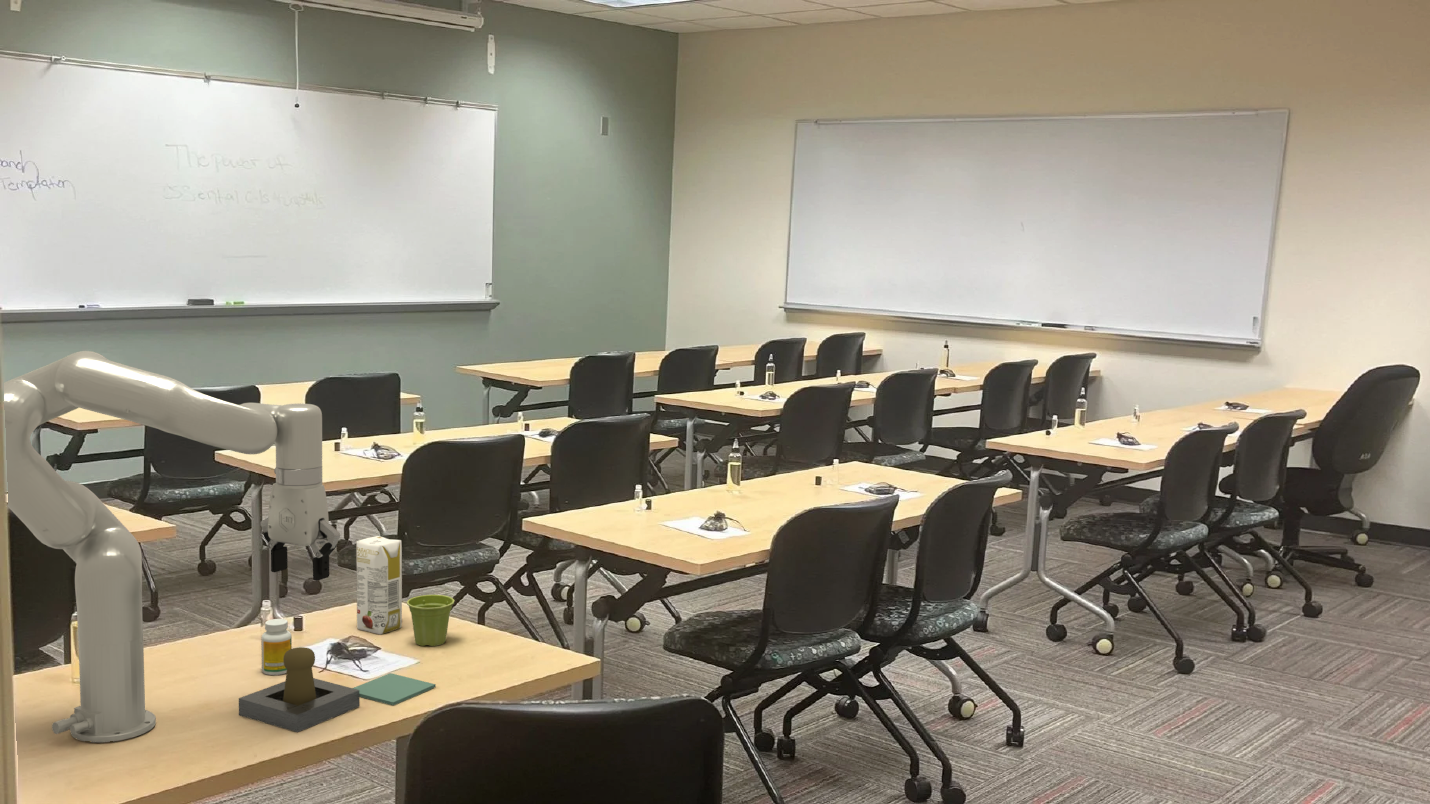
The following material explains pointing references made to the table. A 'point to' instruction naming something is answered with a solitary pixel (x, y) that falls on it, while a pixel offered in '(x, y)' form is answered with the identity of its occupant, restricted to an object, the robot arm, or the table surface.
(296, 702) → the cork
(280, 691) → the socket block
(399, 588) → the juice carton
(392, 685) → the rubber mat
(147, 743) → the table surface
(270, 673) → the supplement bottle
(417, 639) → the plant pot
